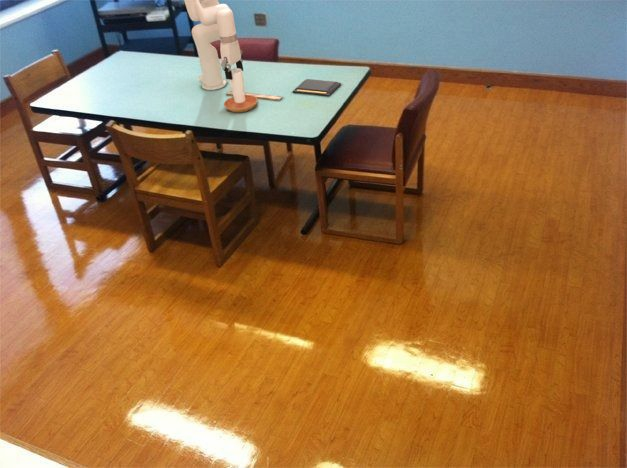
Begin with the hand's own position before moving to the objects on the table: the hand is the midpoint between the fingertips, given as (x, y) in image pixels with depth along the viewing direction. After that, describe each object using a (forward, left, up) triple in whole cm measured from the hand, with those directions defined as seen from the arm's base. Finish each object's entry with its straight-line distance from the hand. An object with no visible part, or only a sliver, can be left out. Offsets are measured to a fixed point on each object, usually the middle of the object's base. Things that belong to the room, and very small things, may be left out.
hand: (234, 74), depth 275 cm
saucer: (+1, 0, -16) cm, 16 cm away
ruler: (0, +12, -16) cm, 20 cm away
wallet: (+27, +28, -16) cm, 42 cm away
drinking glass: (0, 0, -13) cm, 13 cm away
